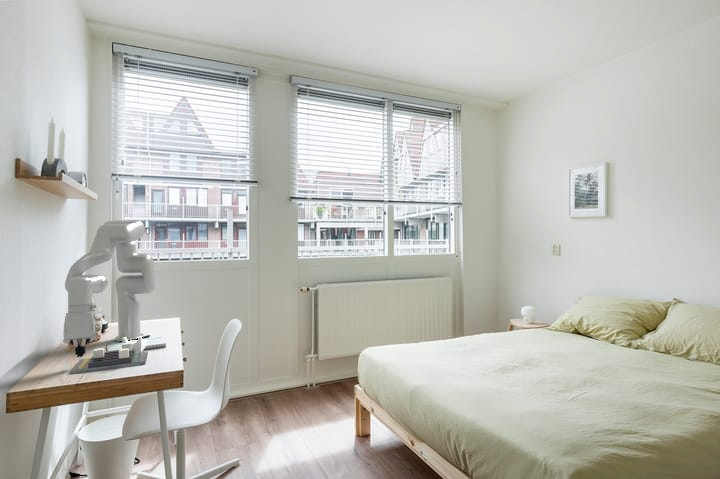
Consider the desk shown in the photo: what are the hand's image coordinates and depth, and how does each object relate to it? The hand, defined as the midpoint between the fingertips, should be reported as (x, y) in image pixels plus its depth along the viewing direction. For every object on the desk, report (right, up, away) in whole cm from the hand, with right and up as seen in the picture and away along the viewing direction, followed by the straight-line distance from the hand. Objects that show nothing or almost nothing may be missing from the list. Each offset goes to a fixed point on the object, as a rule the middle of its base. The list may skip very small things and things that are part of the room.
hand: (80, 356), depth 153 cm
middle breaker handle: (+5, -3, +3) cm, 7 cm away
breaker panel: (+9, -4, +5) cm, 11 cm away
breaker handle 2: (+16, -3, +2) cm, 16 cm away
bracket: (+9, -5, +22) cm, 24 cm away
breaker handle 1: (+11, -3, +11) cm, 16 cm away
